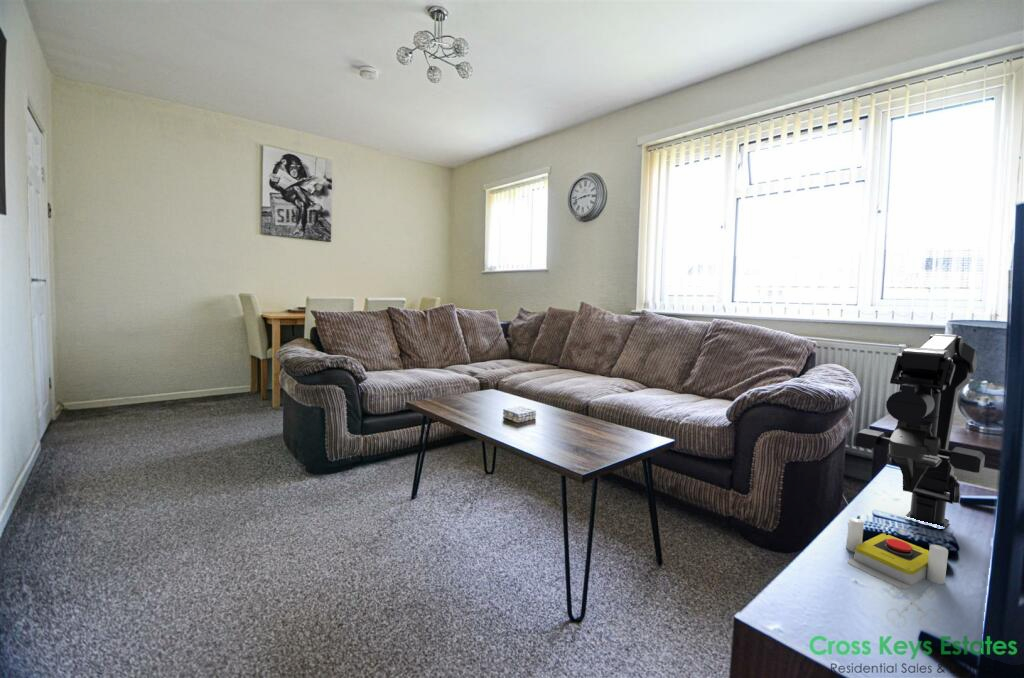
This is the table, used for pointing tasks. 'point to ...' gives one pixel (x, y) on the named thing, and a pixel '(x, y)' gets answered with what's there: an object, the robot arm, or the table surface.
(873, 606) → the table surface
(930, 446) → the robot arm
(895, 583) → the emergency button
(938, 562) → the post
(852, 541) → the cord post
